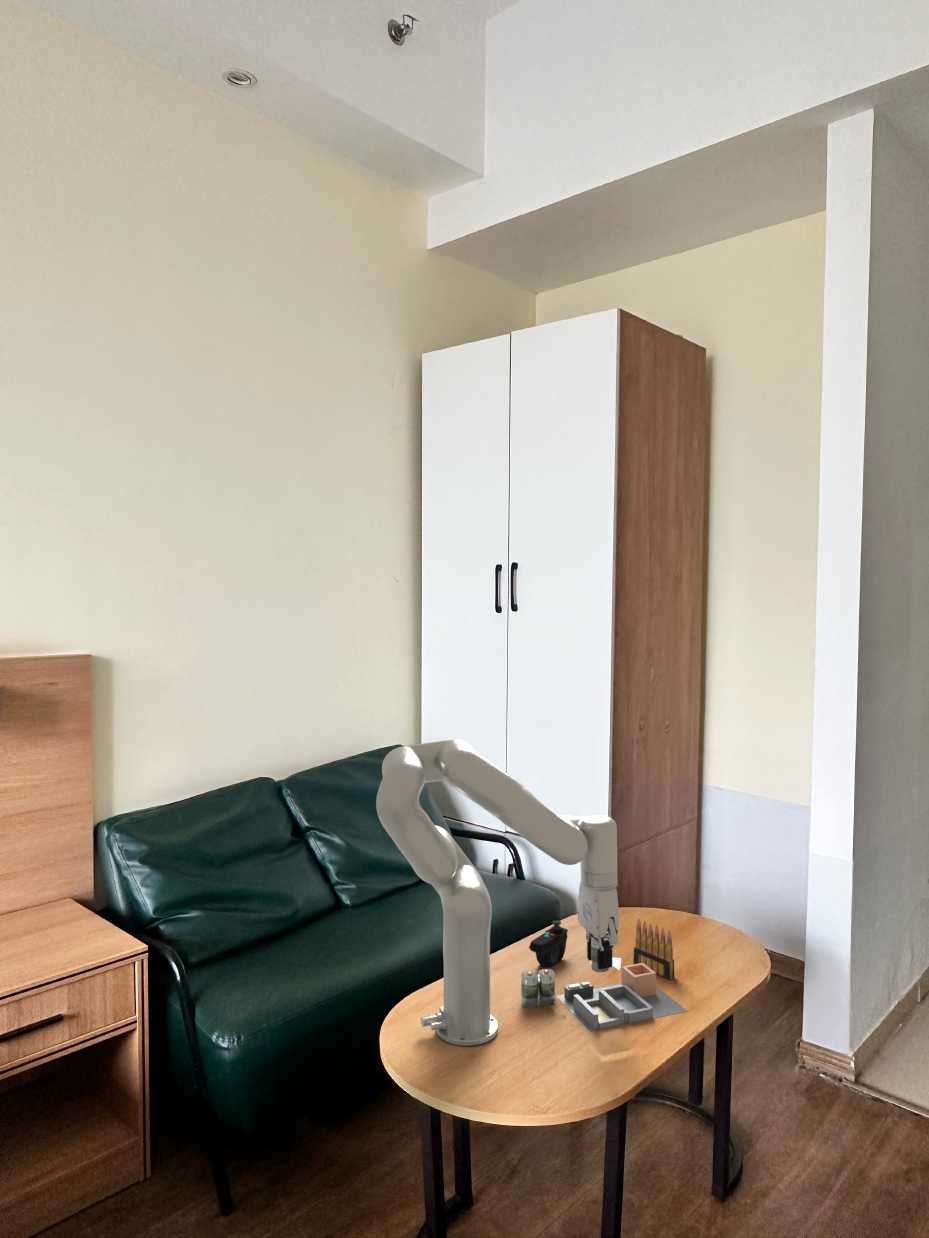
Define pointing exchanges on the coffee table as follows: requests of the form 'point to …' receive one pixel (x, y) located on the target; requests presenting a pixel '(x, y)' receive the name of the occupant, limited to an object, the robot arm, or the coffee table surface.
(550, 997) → the cell
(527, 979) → the cell
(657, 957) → the ammunition clip
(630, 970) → the pink hollow box
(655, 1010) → the board
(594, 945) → the cell
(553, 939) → the controller
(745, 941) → the coffee table surface
